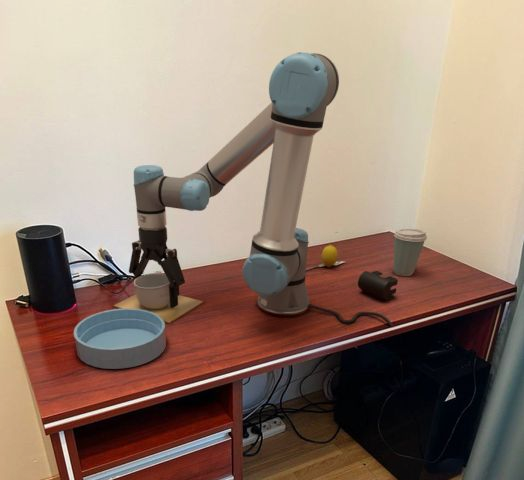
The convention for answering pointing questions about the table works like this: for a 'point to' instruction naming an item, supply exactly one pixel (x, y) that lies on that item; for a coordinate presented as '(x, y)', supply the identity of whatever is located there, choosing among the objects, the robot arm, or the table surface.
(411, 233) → the disposable coffee cup
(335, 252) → the lemon
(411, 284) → the table surface
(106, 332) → the bowl
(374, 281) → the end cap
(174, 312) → the placemat
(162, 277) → the teacup
